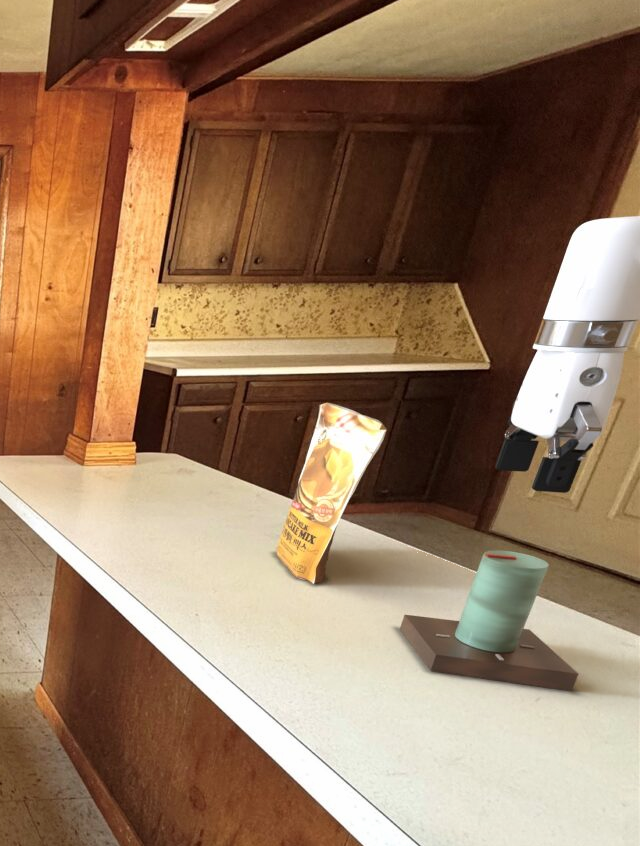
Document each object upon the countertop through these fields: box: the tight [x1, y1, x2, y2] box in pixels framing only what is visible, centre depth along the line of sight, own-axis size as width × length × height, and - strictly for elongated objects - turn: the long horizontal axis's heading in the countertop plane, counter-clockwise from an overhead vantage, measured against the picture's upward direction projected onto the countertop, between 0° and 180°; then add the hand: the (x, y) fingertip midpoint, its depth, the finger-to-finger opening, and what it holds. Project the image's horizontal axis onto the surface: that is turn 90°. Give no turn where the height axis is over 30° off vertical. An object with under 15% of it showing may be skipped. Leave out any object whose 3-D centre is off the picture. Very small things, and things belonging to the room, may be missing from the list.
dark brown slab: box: [399, 614, 579, 692], centre depth 89 cm, size 14×12×3 cm
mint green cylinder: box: [455, 549, 550, 653], centre depth 86 cm, size 6×6×12 cm
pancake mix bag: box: [276, 402, 388, 585], centre depth 113 cm, size 7×19×28 cm, turn 164°
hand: (529, 480), depth 82 cm, fingers open, 9 cm apart
